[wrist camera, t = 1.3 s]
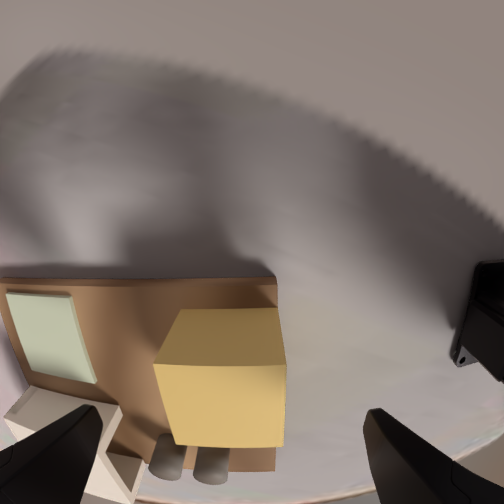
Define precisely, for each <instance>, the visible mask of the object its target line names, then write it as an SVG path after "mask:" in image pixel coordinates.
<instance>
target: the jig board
mask: <svg viewBox="0 0 504 504" xmlns="http://www.w3.org/2000/svg"><path fill="white" fill-rule="evenodd" d="M8 292H14V293H28V294H44V295H63V296H72V298H73V302H74V306H75V310H76V314H77V318H78V322H79V326H80V329H81V333H82V336H83V339H84V343H85V346H86V349H87V352H88V355H89V359H90V362H91V364H92V367H93V370H94V373H95V376H96V379H97V382H96V383H95V384H93V383H87V382H82V381H77V380H72V379H67V378H62V377H58V376H53V375H49V374H45V373H41V372H37V371H33V370H31V367H30V365H29V362H28V360H27V358H26V355H25V352H24V350H23V347H22V344H21V342H20V339H19V336H18V333H17V330H16V327H15V324H14V321H13V318H12V315H11V312H10V308H9V305H8V301H7V297H6V293H8ZM247 308H278V296H277V280H276V276H272V277H239V278H193V279H41V278H1V279H0V312H1V315H2V318H3V321H4V324H5V327H6V330H7V333H8V336H9V339H10V341H11V344H12V347H13V349H14V352H15V354H16V357H17V359H18V362H19V364H20V366H21V369H22V371H23V373H24V376H25V378H26V380H27V382H28V384H29V386H35V387H38V388H41V389H45V390H49V391H52V392H56V393H60V394H64V395H68V396H72V397H77V398H81V399H86V400H91V401H96V402H101V403H107V404H112V405H118V406H119V407H120V409H121V412H122V414H123V416H122V418H121V420H120V423H119V425H118V427H117V429H116V431H115V433H114V435H113V437H112V439H111V441H110V443H109V445H108V447H107V450H106V452H110V453H114V454H118V455H123V456H128V457H133V458H139V459H143V461H144V463H146V464H149V467H148V469H149V471H150V472H151V473H152V474H153V475H155V476H156V477H158V478H161V479H164V480H170V481H174V480H178V479H180V477H181V473H182V468H183V469H193V470H194V471H193V476H194V478H195V479H196V480H198V481H199V482H202V483H205V484H209V485H219V484H223V483H225V482H226V481H227V477H228V472H268V471H275V456H276V447H267V448H221V447H201V446H188V445H177V444H176V443H175V440H174V437H173V434H172V431H171V427H170V424H169V421H168V418H167V414H166V411H165V408H164V404H163V401H162V397H161V394H160V390H159V386H158V382H157V379H156V375H155V371H154V367H153V362H154V360H155V358H156V356H157V354H158V352H159V350H160V348H161V346H162V345H163V343H164V341H165V339H166V337H167V335H168V333H169V331H170V329H171V327H172V325H173V323H174V321H175V319H176V318H177V316H178V314H179V312H180V310H181V309H247Z"/></svg>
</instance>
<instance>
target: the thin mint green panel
mask: <svg viewBox="0 0 504 504" xmlns="http://www.w3.org/2000/svg"><path fill="white" fill-rule="evenodd" d="M6 297H7V301H8V305H9V308H10V312H11V315H12V318H13V321H14V324H15V327H16V330H17V333H18V336H19V339H20V342H21V344H22V347H23V350H24V352H25V355H26V358H27V360H28V362H29V365H30V367H31V370H33V371H37V372H41V373H45V374H49V375H53V376H58V377H62V378H67V379H72V380H77V381H82V382H87V383H93V384H95V383H96V382H97V379H96V376H95V373H94V370H93V367H92V364H91V362H90V359H89V355H88V352H87V349H86V346H85V343H84V339H83V336H82V333H81V329H80V326H79V322H78V318H77V314H76V310H75V306H74V302H73V298H72V296H63V295H44V294H28V293H14V292H8V293H6Z"/></svg>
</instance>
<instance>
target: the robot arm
mask: <svg viewBox="0 0 504 504" xmlns="http://www.w3.org/2000/svg"><path fill="white" fill-rule="evenodd" d="M483 269H484V271H483ZM482 271H483V273H482ZM453 362H454V364H455V365H456V366H457V367H462V366H466V365H469V364H472V363H476V362H479V363H480V364H481V365H482V366H483V367H484V368H485V369H486V370H487V371H488V372H489V373H490V374H491V375H492V376H493V377H494V378H495V379H496V380H497V381H498V382H500V381H501V382H502V383H503V384H504V260H493V261H482V262H479V263H478V264H477V266H476V268H475V273H474V278H473V284H472V289H471V294H470V299H469V304H468V308H467V312H466V317H465V321H464V324H463V328H462V332H461V336H460V339H459V343H458V346H457V349H456V353H455V356H454V359H453ZM102 430H103V421H102V419H101V417H100V414H99V412H98V410H97V408H96V407H95V406H94V405H90V404H83V405H81V406H80V407H78V408H76V409H75V410H73V411H71V412H69V413H68V414H66V415H64V416H63V417H61V418H59V419H58V420H56V421H54V422H52V423H51V424H49V425H47V426H45V427H44V428H42V429H40V430H38V431H37V432H35V433H33V434H31V435H30V436H28V437H26V438H24V439H22V440H21V441H19V442H17V443H15V444H14V445H11V446H9V447H8V448H6V449H4V450H2V451H0V504H80V502H81V499H82V496H83V493H84V490H85V487H86V484H87V481H88V478H89V476H90V473H91V470H92V467H93V464H94V461H95V458H96V454H97V450H98V446H99V441H100V437H101V434H102ZM363 434H364V439H365V444H366V449H367V455H368V460H369V466H370V470H371V474H372V477H373V480H374V483H375V487H376V490H377V493H378V496H379V499H380V503H381V504H504V488H503V487H501V486H499V485H497V484H494V483H493V482H490V481H488V480H486V479H484V478H482V477H480V476H478V475H476V474H475V473H473V472H471V471H469V470H468V469H466V468H465V467H463V466H461V465H460V464H459V463H457V462H456V461H452V459H451V458H450V457H448V456H447V455H445V454H444V453H442V452H441V451H439V450H438V449H437V448H435V447H434V446H432V445H431V444H430V443H428V442H427V441H425V440H424V439H423V438H421V437H420V436H418V435H417V434H416V433H414V432H413V431H411V430H410V429H409V428H407V427H406V426H405V425H403V424H402V423H400V422H399V421H398V420H396V419H395V418H394V417H392V416H391V415H390V414H388V413H387V412H386V411H384V410H383V409H381V408H376V409H370V410H369V411H368V412H367V415H366V419H365V422H364V426H363Z"/></svg>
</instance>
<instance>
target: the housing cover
mask: <svg viewBox="0 0 504 504" xmlns="http://www.w3.org/2000/svg"><path fill="white" fill-rule="evenodd" d="M83 404H90V405H94V406H95V407H96V408H97V410H98V412H99V414H100V417H101V419H102V421H103V430H102V434H101V437H100V441H99V446H98V450H97V454H96V458H95V461H94V464H93V467H92V470H91V473H90V476H89V478H88V481H87V484H86V487H85V490H84V492H86V493H89V494H92V495H95V496H99V497H102V498H105V499H109V500H112V501H116V502H120V503H124V504H134V501H135V498H136V494H137V491H138V488H139V485H140V482H141V479H142V476H143V473H144V470H145V467H146V465H145V463H144V461H143V459H139V458H133V457H128V456H123V455H118V454H114V453H110V452H106V450H107V447H108V445H109V443H110V441H111V439H112V437H113V435H114V433H115V431H116V429H117V427H118V425H119V423H120V420H121V418H122V416H123V414H122V412H121V409H120V407H119V406H118V405H112V404H107V403H101V402H96V401H91V400H86V399H81V398H77V397H72V396H68V395H64V394H60V393H56V392H52V391H49V390H45V389H41V388H38V387H35V386H30V387H29V388H28V389H27V390H26V391H25V393H24V394H23V395H22V396H21V397H20V398H19V399H18V401H17V402H16V403H15V404H14V405H13V406H12V407H11V409H10V410H9V411H8V412H7V413H6V415H5V416H4V417H3V418H4V420H5V421H6V423H7V425H8V426H9V428H10V429H11V431H12V432H13V434H14V435H15V437H16V438H17V440H18V441H21V440H22V439H24V438H26V437H28V436H30V435H31V434H33V433H35V432H37V431H38V430H40V429H42V428H44V427H45V426H47V425H49V424H51V423H52V422H54V421H56V420H58V419H59V418H61V417H63V416H64V415H66V414H68V413H69V412H71V411H73V410H75V409H76V408H78V407H80V406H81V405H83Z"/></svg>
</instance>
